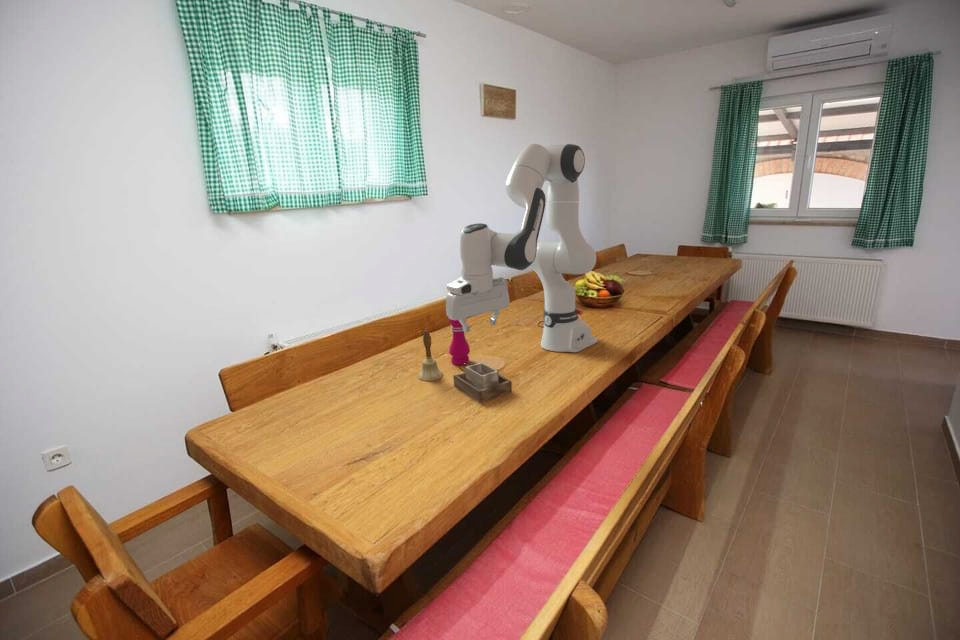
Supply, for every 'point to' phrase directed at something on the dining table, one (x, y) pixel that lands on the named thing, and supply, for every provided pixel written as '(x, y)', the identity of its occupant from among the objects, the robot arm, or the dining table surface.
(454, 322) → the pepper mill
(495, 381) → the small crate
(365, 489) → the dining table surface
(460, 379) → the big crate
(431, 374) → the hand bell
